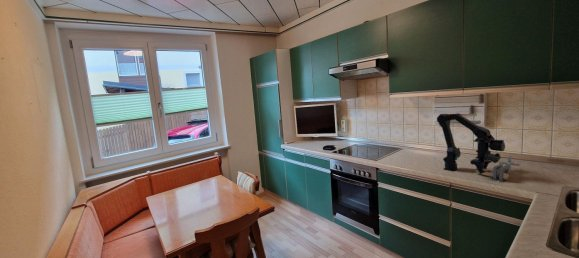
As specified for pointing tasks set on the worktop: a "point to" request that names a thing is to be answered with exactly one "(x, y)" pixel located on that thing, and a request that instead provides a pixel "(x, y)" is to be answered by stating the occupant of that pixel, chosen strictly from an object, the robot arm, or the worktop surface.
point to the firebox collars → (500, 172)
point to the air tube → (490, 173)
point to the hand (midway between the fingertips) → (482, 172)
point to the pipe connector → (509, 163)
